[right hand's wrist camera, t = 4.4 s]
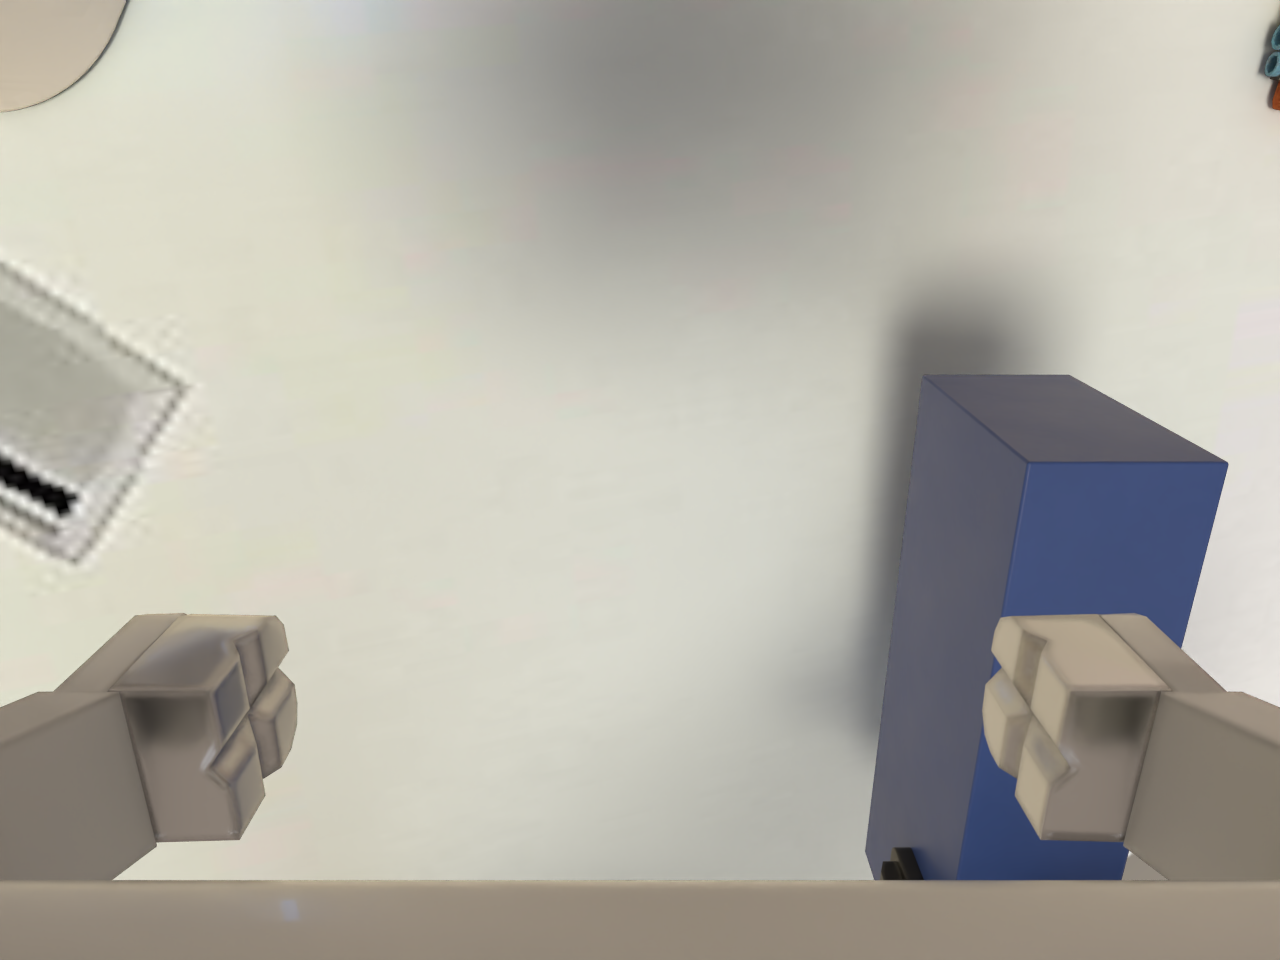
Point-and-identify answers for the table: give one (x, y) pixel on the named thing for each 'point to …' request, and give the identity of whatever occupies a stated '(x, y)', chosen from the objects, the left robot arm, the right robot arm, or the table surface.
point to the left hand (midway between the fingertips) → (977, 864)
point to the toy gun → (1274, 67)
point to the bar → (1019, 596)
